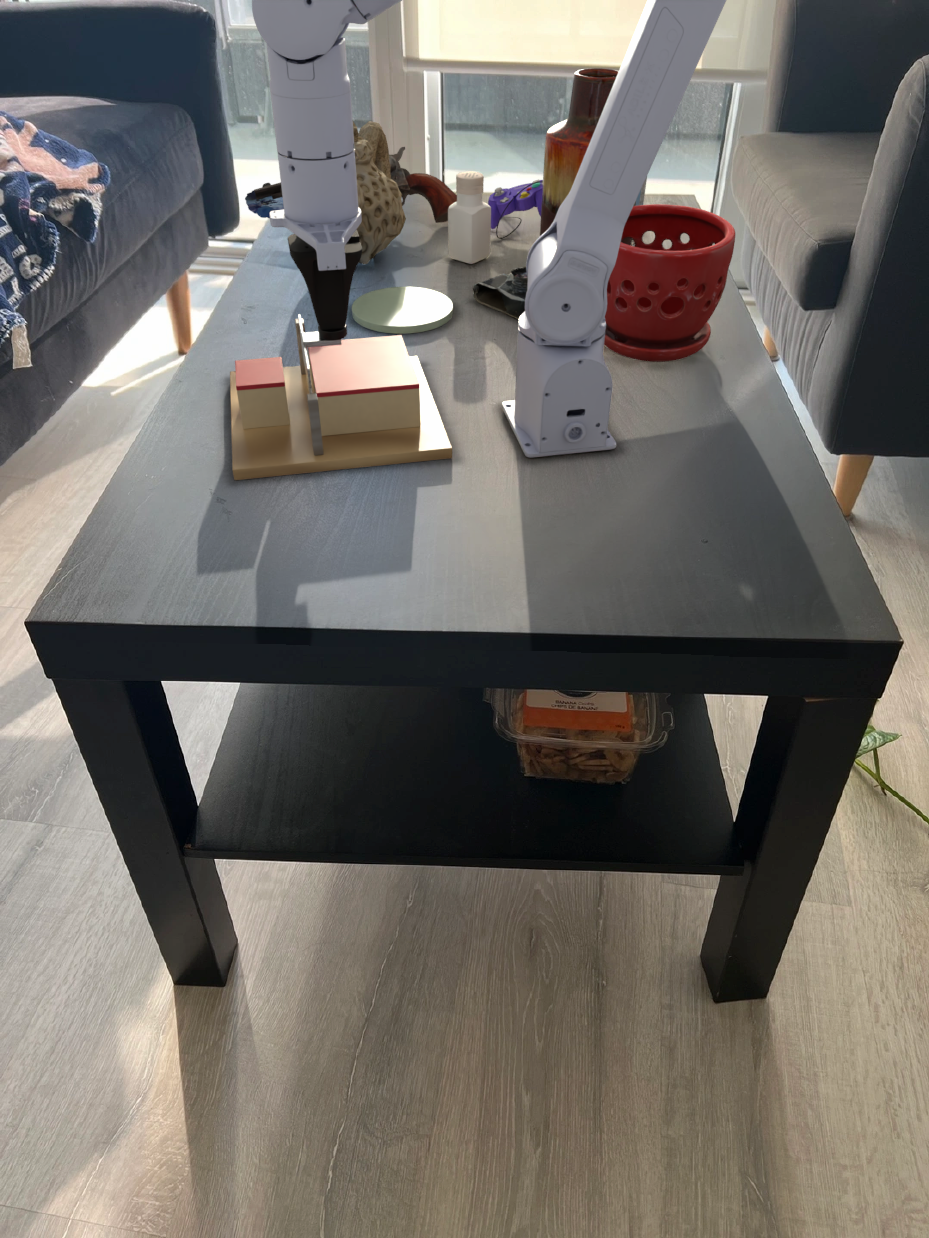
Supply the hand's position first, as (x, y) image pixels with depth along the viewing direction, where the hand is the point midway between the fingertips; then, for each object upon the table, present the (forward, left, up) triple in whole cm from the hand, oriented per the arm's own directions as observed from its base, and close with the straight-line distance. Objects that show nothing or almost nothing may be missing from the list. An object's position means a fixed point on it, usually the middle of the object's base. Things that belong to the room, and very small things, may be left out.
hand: (331, 326), depth 78 cm
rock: (+61, -5, -2) cm, 61 cm away
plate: (+22, -9, -8) cm, 25 cm away
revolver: (+49, -10, -9) cm, 50 cm away
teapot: (+40, -7, -8) cm, 41 cm away
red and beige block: (0, -2, -7) cm, 8 cm away
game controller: (+47, -28, -9) cm, 55 cm away
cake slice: (0, +6, -7) cm, 10 cm away
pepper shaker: (+37, -20, -9) cm, 43 cm away
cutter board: (0, 0, -8) cm, 8 cm away
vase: (+32, -33, -9) cm, 46 cm away
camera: (+21, -22, -9) cm, 31 cm away
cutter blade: (0, +1, -5) cm, 5 cm away
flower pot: (+9, -33, -9) cm, 35 cm away
